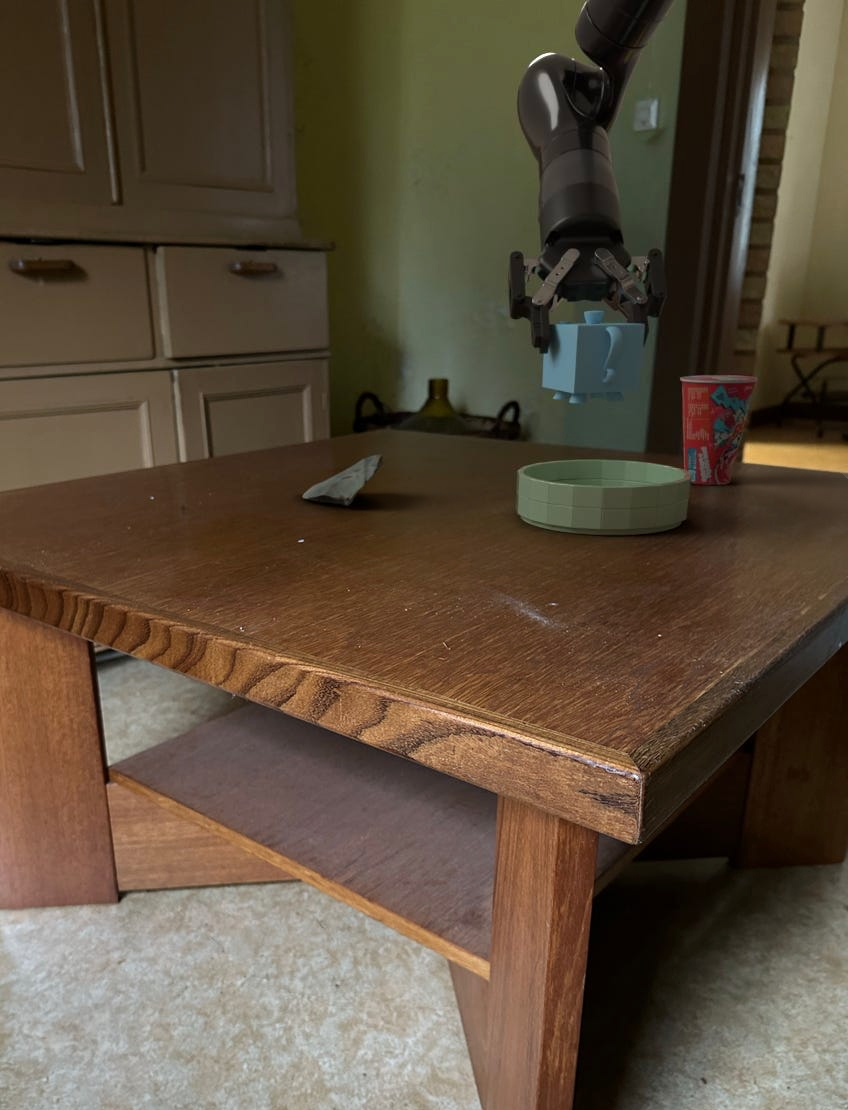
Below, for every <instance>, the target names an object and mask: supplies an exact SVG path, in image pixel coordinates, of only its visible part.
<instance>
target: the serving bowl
mask: <svg viewBox="0 0 848 1110" xmlns="http://www.w3.org/2000/svg"><path fill="white" fill-rule="evenodd" d="M691 479H692V474H691V473H689V472H688V471H686V470H684V468H680V467H676V466H674V465H673V466H672V465H668V464H662V463H654V462H648V461H647V462H646V461H635V460H625V459H624V460H621V459H620V460H619V459H566V460H552V461H545V462H544V461H543V462H537V463H533V464H528V465H525V466H522V467H520V468H518V470H517V471H516V495H515V510H516V512H517V514H518V516H520V519H521V520H522V521H524V522H525V523H527V524H528V525H532V526H534V527H538V528H541V529H546V530H550V531H555V532H560V533H562V532H563V533H569V534H578V535H592V536H636V535H637V536H638V535H646V534H655V533H662V532H666V531H670V530H672V529H675V528H677V527H679V526H680V525H682V523H683V521H685V520H687V518H688V515H689V506H690V498H691V488H692V483H691Z"/></svg>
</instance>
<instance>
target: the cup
mask: <svg viewBox="0 0 848 1110" xmlns="http://www.w3.org/2000/svg"><path fill="white" fill-rule="evenodd" d="M679 379H680V381H681V389H682V392H681V393H682V395H681V396H682V433H683V434H682V435H683V436H682V437H683V438H682V439H683V440H682V441H683V467H684V468H683V469H684V470H686V471H688V472H689V473H691V474H692V479H691V484H693V485H694V484H695V485H703V486H722V485H728V484H730V483H731V479H732V477H733V476H732V475H733V471H734V468H735V464H736V460H737V457H738V453H739V448H740V445H741V441H742V437H743V433H744V430H745V425H746V422H747V418H748V413H749V410H750V405H751V401H752V398H753V393H754V389H755V385H756V382H758V381H759V377H757V376H751V375H749V376H748V375H739V374H738V375H737V374H735V375H734V374H733V375H731V374H702V375H701V374H700V375H687V376H686V375H685V376H681V377H679Z"/></svg>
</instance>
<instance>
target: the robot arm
mask: <svg viewBox="0 0 848 1110" xmlns="http://www.w3.org/2000/svg"><path fill="white" fill-rule="evenodd" d="M676 1H677V0H586V1H585V2H584V4H583V7H582V8H581V10H580V12H579V14H578V17H577V19H576V21H575V26H574V36H575V37H574V38H575V40H576V44H577V46H578V47H579V48H580V50H581V51H582V53H583V54H584V56H586V57H587V58H588V59H589V60H590V61H592V62H593V63H594V64H595V65H596V66H594V65H591V64H590V63H589V64H588V63H586V62H583V61H580V60H577V59H576V58H572V57H569V56H568V55H564V54H562V53H558V52H547V53H544V54H541V55H540V56H538V57H536V58H535V59H534V60H532V62H530V64H529V65H528V67H527V68H526V69H525V71H524V72H523V74H522V77H521V79H520V82H519V86H518V91H517V96H516V97H517V98H516V110H517V111H516V112H517V117H518V121H519V126H520V128H521V132H522V133H523V135H524V139H525V141H526V142H527V144H528V146H529V149H530V150H531V153H532V155H533V157H534V159H535V160H536V162H537V165H538V177H539V178H538V179H539V191H538V199H537V200H538V201H537V202H538V203H537V204H538V205H537V206H538V212H537V221H538V224H539V238H540V255H538V258H537V257H536V258H534V257H533V258H531V257H530V258H524V254H523V252H521V251H519V250H515V251H511V253H510V255H509V264H508V272H507V284H508V285H507V286H508V287H507V288H508V306H509V307H508V308H509V317H510V318H511V319H512V320H514V321H515V320H520V319H522V318H525V319H526V320H528V321H529V323H530V338H531V345H532V346H533V348H534V349H538V350H539V351H538V352H539V354H540V355H544V354H548V349H549V343H550V325H549V324H550V313H554V311H556V309H557V308H558V306H559V305H560V304H561V303H562V302H563V300H566V302H568V303H575V302H581V301H588V302H602V301H604V303H605V304H606V305H608V306H609V307H610V308H611V309H612V310H613V311H614V312H617V311H619V312H620V314H622V315H623V316H624V318H626V319H627V320H626V323H632V324H644V325H645V330H644V342H643V348H644V347H645V345H646V342H647V339H648V336H649V333H650V326H649V317H651V318H659V317H660V316H661V315H662V311H663V307H664V304H665V300H666V299H667V297H668V288H667V286H668V285H667V280H666V272H665V265H664V264H665V263H664V258H663V257H664V256H663V252H662V250H661V249H659V248H651V249H649V250H648V253H647V255H637V256H635V255H633V256H632V255H631V253H630V252H629V251H628V250H627V248H626V247H625V239H624V230H623V229H624V228H623V222H622V213H621V205H620V196H619V195H620V194H619V189H618V188H619V187H618V183H617V179H616V176H615V173H614V168H613V167H614V166H613V159H612V151H611V143H610V138H609V135H610V134H611V133H612V131H613V129H614V128H615V125H616V123H617V120H618V118H619V117H620V116H619V115H620V112H621V109H622V106H623V103H624V100H625V96H626V93H627V91H628V88H629V84H630V82H631V81H632V77H633V75H634V72H635V70H636V67H637V65H638V63H639V61H640V59H641V56H642V55H643V53H644V51H645V50H646V48H647V46H648V44H649V43H650V41H651V40H652V39H653V37H654V35H655V34H656V33H657V31H658V29H659V28H660V26H661V25H662V23H663V22H664V20H665V19H666V17H667V16H668V14H669V12H670V11H671V9H672V8H673V7H674V5H675V3H676ZM597 66H598V67H597ZM630 272H631V273H634V275H636V278H637V279H638V283H639V284H643V288H644V291H643V290H641V289H640V288H639V287H638V286H637V285H636V284H635V280H634V277H633V276H632V274H631V273H630ZM534 274H537V276H538V278H539V279H541V281H543V285H542V286H541V287H540V288H539V289H538V291H537V292H536V293H535V294H534V295H533V296H529V295H526V285H527V283H528V282H530V281H531V278H532V276H533V275H534Z"/></svg>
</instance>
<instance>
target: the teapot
mask: <svg viewBox="0 0 848 1110" xmlns="http://www.w3.org/2000/svg"><path fill="white" fill-rule="evenodd" d="M604 315H605V311H603V310H587V311H584V312H583V316H584V319H585V322H582V323H580V322H579V323H578V322H577V323H575V322H573V323H572V322H571V321H569V320H559V323H549V325H550V343H549V349H548V354H543V361H542V382H541V387H542V388H546V389H549V390H550V389H551V390H554V391H555V390H556V393H555V395H554V396H553V397H552V399H553V400H569V401H568V403H570V404H586V403H588V394H589V398H591V399H604V398H606V399H607V401H608V402H613V403H614V402H616V403H617V402H618V403H619V402H626V399H625V397H624V396H623V394H622V392H640V388H641V387H640V386H641V376H642V365H643V363H642V362H643V353H644V352H643V351H644V347H643V342H644V330H645V325H644V324H632V323H627V322H602V320H603V318H604Z"/></svg>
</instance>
